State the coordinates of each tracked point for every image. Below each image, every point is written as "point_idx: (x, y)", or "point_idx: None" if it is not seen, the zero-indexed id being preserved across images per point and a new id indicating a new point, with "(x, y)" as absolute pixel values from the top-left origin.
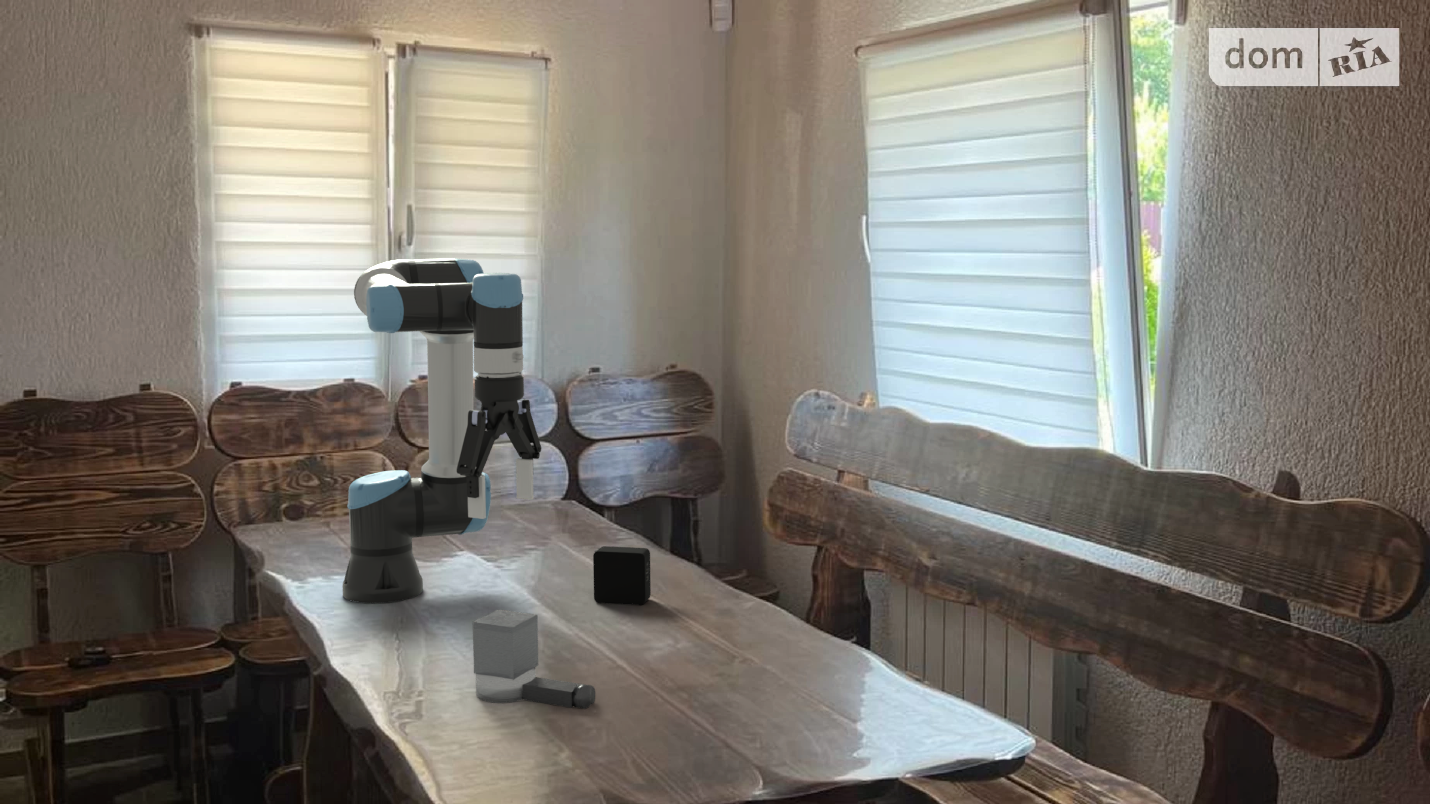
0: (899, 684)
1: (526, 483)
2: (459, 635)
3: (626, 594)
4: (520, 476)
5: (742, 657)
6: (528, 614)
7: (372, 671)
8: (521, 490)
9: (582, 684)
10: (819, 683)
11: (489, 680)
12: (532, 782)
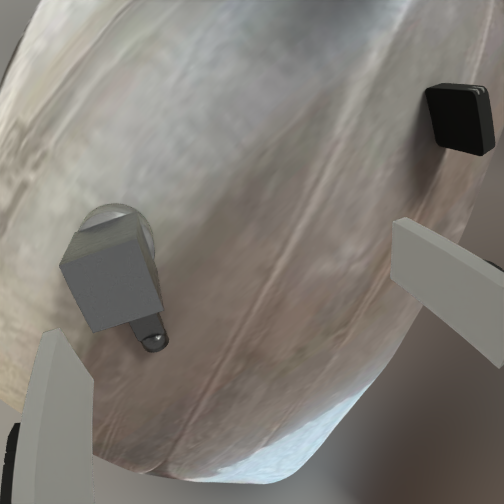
0: (335, 418)
1: (433, 293)
2: (248, 8)
3: (441, 126)
4: (458, 281)
5: (347, 329)
6: (153, 300)
7: (59, 35)
8: (415, 256)
9: (155, 344)
10: (316, 399)
11: None
12: None
